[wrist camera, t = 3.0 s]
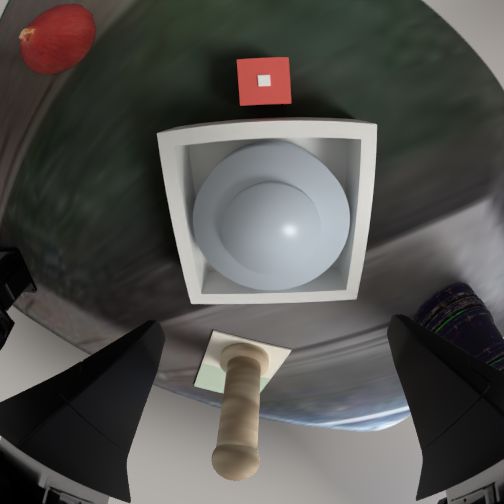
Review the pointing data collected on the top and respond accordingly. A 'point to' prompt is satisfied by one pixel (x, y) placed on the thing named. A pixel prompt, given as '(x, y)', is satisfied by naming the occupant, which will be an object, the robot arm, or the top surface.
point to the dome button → (271, 216)
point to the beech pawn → (240, 411)
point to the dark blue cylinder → (463, 323)
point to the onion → (57, 39)
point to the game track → (210, 367)
